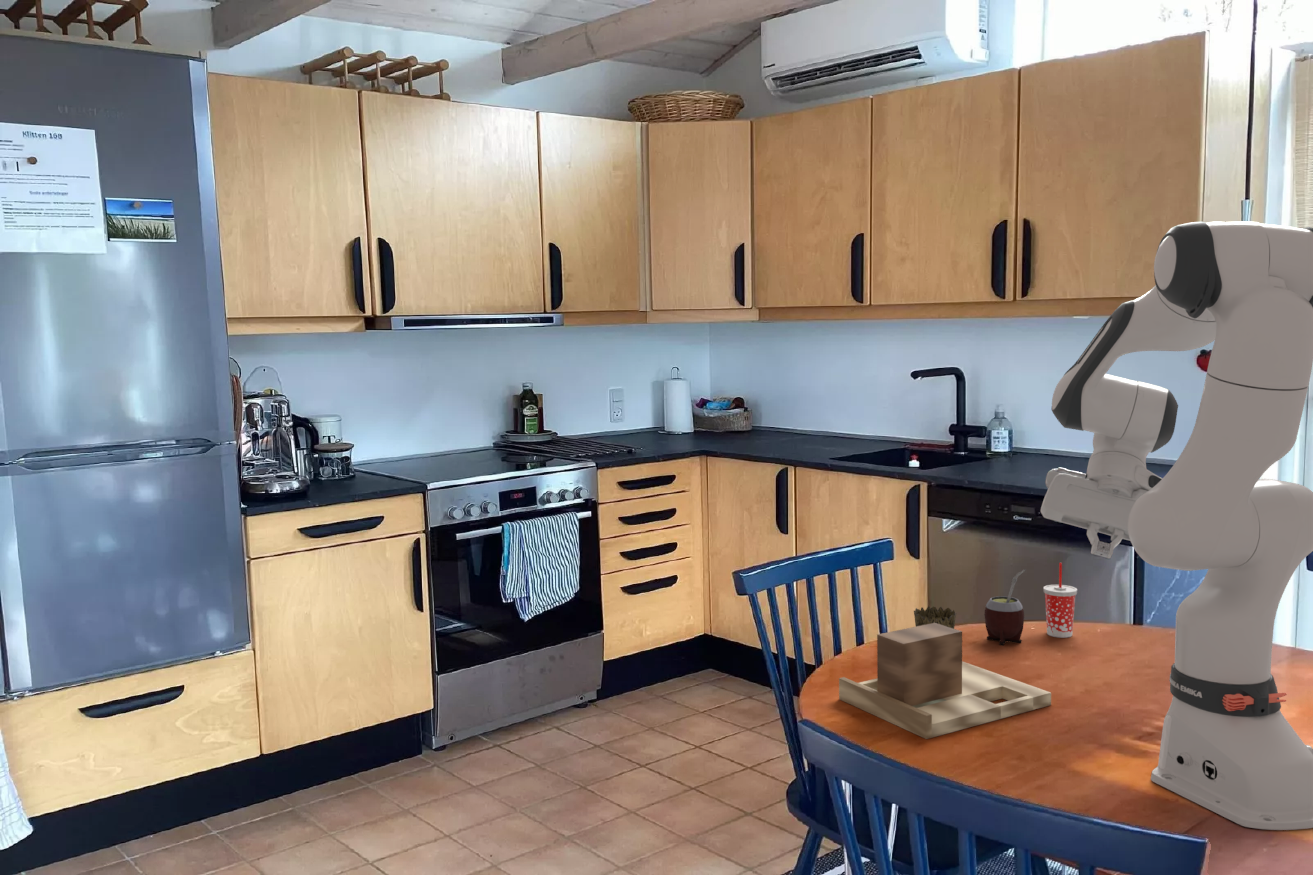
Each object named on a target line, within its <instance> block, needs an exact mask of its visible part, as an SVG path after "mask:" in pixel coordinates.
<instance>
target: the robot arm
mask: <svg viewBox="0 0 1313 875" xmlns="http://www.w3.org/2000/svg"><path fill="white" fill-rule="evenodd" d="M1153 276H1154V282H1155V285H1154V286H1153V287H1152V288H1151V289H1150V290H1149V291H1147V292H1146V293H1144V294H1143V295H1141V296H1139V297H1137V298H1135V299H1133V300H1132V299H1131V300H1129V301H1125V302H1122V303H1121V304H1120V305H1119V306H1117V308H1115V310H1114V311H1113V312H1112V314H1110V316H1109V317H1108V318H1107V319H1106V321H1105V322H1104V323H1103V324H1102V326H1101V327H1100V328H1099V330H1098V331H1097V333H1096V334H1095V336H1093V338H1092V340H1090V342H1089V344H1088V345H1087V346H1086V348H1085V349H1084V351H1083V352H1082V354H1081V355H1080V356H1079V358H1078V359H1077V360H1076V362H1074V364H1073V365H1072V366H1071V367H1070V368H1068V369H1067V371H1066V372H1065V373H1064V374H1063V376H1062V377H1061V378H1060V379H1059V381H1058V382H1057V384H1056V386H1055V388H1054V390H1053V393H1052V399H1051V409H1050V410H1051V411H1052V414H1053V415H1054V417H1055V418H1056V419H1057V421H1058V423H1059V424H1060V425H1061V426H1062V427H1063V428H1064V429H1070V430H1077V431H1082V432H1084V431H1086V432H1089V433H1093V439H1092V446H1093V451H1092V453H1091V455H1090V456H1089V459H1088V464H1087V469H1086V473H1083V472H1081V471H1080V472H1079V471H1076V470H1070V469H1067V468H1065V467H1058V468H1052V469H1051V470H1049V471H1048V472H1047V473H1046V476H1045V481H1044V483H1045V486H1046V488H1047V491H1046V493H1045V495H1044V498H1043V501H1042V503H1041V507H1040V513H1041V515H1042V517H1043V518H1044V519H1047V520H1051V521H1055V522H1058V523H1063V524H1066V525H1070V526H1074V527H1078V528H1082V529H1085V530H1086V536H1087V538H1088V541H1089V542H1090V545H1091V549H1090V550H1091V551H1090V554H1091V555H1096V556H1099V557H1103V558H1106V559H1109V560H1110V559H1111V558H1112V557H1113V553H1114V549H1115V548H1116V547H1118V545H1119V544H1120V543H1121V542H1122V540H1126V541H1130V543H1131V545H1132V547H1133V549H1134V550H1135V552H1136V554H1137V555H1138V556H1139V557H1140V558H1141V559H1142V560H1143V561H1144V562H1145V563H1147V564H1149V565H1151V566H1153V567H1157V568H1164V569H1171V570H1179V571H1189V572H1191V571H1193V572H1194V571H1199V570H1200V571H1201V570H1207V572H1206V574H1205V576H1204V578H1203V579H1202V582H1201V583H1200V584H1199V586H1198V587H1197V588H1196V589H1195V590H1194V591H1193V592H1191V594H1189V595H1188V596H1187V597H1186V598H1184V599H1183V600H1182V602H1180V604H1179V606H1178V608H1177V610H1176V614H1175V636H1174V639H1175V640H1174V641H1175V643H1174V646H1175V647H1174V662H1173V663H1172V665H1171V666H1170V674H1169V684H1170V685H1169V687H1170V688H1169V692H1170V694H1171V695H1172V699H1171V703H1170V706H1169V708H1168V711H1167V712H1166V714H1165V716H1164V719H1163V725H1162V731H1161V732H1162V733H1161V740H1160V747H1159V755H1158V762H1157V766H1156V767H1155V768H1154V769H1152V771H1151V775H1150V781H1152V782H1153V783H1155V784H1157V785H1158V786H1161V787H1163V788H1164V789H1167V790H1168V791H1171V792H1174V794H1176V795H1179V796H1180V797H1183V798H1185V799H1187V800H1189V801H1191V802H1193V803H1195V804H1197V805H1200V806H1201V807H1203V808H1205V809H1207V810H1210V811H1211V812H1214V813H1216V814H1218V815H1219V816H1221V817H1224V818H1225V819H1227V820H1230V821H1231V822H1234V823H1235V824H1237V825H1240V826H1242V827H1245V828H1252V829H1259V830H1270V831H1283V830H1284V831H1285V830H1286V831H1289V830H1291V831H1293V830H1304V829H1305V830H1306V829H1312V828H1313V747H1312V746H1310V744H1305V742H1304V741H1303V740H1302V738H1301V737H1300V736H1299V735H1298V734H1297V731H1295V730H1294V728H1293V726H1292V725H1291V723H1290V722H1288V720H1287V719H1286V718H1285V716H1284V715H1283V713H1282V711H1281V708H1282V705H1281V703H1284V702H1287V700H1286V699H1280V698H1282V697H1285V696H1287V693H1286V692H1278V686H1277V685H1276V681H1275V677H1274V675H1272V652H1273V639H1274V627H1275V619H1276V615H1277V612H1278V608H1279V606H1280V603H1281V602H1280V601H1281V600H1282V597H1283V595H1284V593H1285V591H1286V588H1287V585H1288V583H1289V582H1290V580H1291V578H1292V576H1293V574H1294V573H1295V571H1296V570H1297V569H1298V567H1299V566H1300V564H1301V563H1302V562H1303V561H1304V560H1305V559H1306V557H1307V556H1309V555H1310V554H1311V553H1312V552H1313V491H1312V489H1310V488H1308V487H1307V486H1305V485H1302V484H1299V483H1295V482H1290V481H1284V480H1279V479H1273V478H1272V479H1271V478H1262V476H1263V475H1264V473H1265V472H1266V471H1267V470H1268V469H1269V468H1271V467H1272V466H1273V465H1274V464H1275V463H1276V462H1278V461H1280V460H1281V459H1283V458H1284V457H1285V456H1287V454H1289V452H1290V451H1291V450H1292V448H1293V447H1294V446H1295V445H1296V444H1295V443H1296V442H1297V438H1298V434H1299V429H1300V425H1301V420H1302V417H1303V411H1304V407H1305V403H1306V398H1307V394H1308V391H1309V390H1308V389H1309V385H1310V379H1311V374H1312V370H1313V226H1312V227H1311V226H1306V227H1302V228H1300V227H1294V226H1287V225H1280V224H1279V225H1278V224H1270V223H1269V224H1268V223H1260V222H1258V221H1226V222H1225V221H1209V222H1205V221H1202V220H1201V221H1194V222H1193V221H1192V222H1186V223H1183V224H1182V223H1180V224H1177V225H1174V226H1172V227H1171V228H1170V229H1169V230H1168V231H1167V232H1166V233H1165V234H1164V235H1163V236H1162V238H1161V240H1160V242H1159V243H1158V247H1157V250H1156V253H1155V257H1154V262H1153ZM1212 343H1213V345H1212V349H1211V353H1210V357H1209V361H1208V365H1207V370H1206V375H1205V381H1204V386H1203V390H1202V394H1201V399H1200V404H1199V407H1198V411H1197V415H1196V420H1195V423H1194V426H1193V429H1192V432H1191V435H1190V437H1189V439H1188V441H1187V443H1186V444H1185V446H1184V448H1183V450H1182V451H1181V453H1180V455H1179V456H1178V457H1177V460H1176V461H1175V462H1174V464H1173V465H1172V467H1171V468H1170V469H1169V471H1168V472H1167V473H1166V474H1165V475H1164V476H1163V477H1160V476H1159V475H1158V474H1156V473H1153V472H1152V471H1150V470H1149V469H1147V463H1146V462H1147V461H1146V460H1147V456H1148V455H1149V453H1154V452H1156V451H1158V450H1159V449H1161V448H1162V447H1164V446H1166V445H1167V444H1169V442H1171V440H1172V437H1173V435H1174V433H1175V427H1176V423H1177V416H1178V410H1179V409H1178V408H1179V404H1178V402H1177V400H1176V398H1175V395H1174V394H1173V393H1172V391H1171V390H1169V389H1168V388H1165V387H1163V386H1159V385H1157V384H1152V383H1148V382H1144V381H1141V380H1135V379H1134V380H1133V379H1130V378H1129V379H1128V378H1125V377H1121V376H1117V375H1113V374H1108V371H1109V370H1110V369H1111V368H1112V366H1113V365H1114V363H1115V362H1116V361H1117V360H1118V359H1119V358H1120V357H1122V356H1125V355H1127V354H1131V353H1137V352H1138V353H1140V352H1157V351H1158V352H1187V351H1192V350H1197V349H1201V348H1203V347H1206V346H1208V345H1209V344H1212ZM1098 533H1100V534H1104V535H1107V536H1110V541H1111V542H1110V543H1108V542H1104V541H1100V539H1099V536H1098Z"/></svg>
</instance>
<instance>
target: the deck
mask: <svg viewBox="0 0 1313 875" xmlns="http://www.w3.org/2000/svg"><path fill="white" fill-rule="evenodd" d="M838 696H839V697H838V700H840V701H842V702H845V703H846V704H849V705H851V706H853V707H855V708H857V709H859V710H862V711H864V712H866V713H868V714H871V715H872V716H875V717H877V718H879V719H881V720H884V721H885V722H888V723H890V724H893V725H895V726H897V727H899V728H901V729H904V730H906V731H907V732H910V733H913V734H914V735H917V736H919V737H921V738H923V739H925V740H930V739H932V738H935V737H939V736H943V735H947V734H950V733H954V732H958V731H961V730H965V729H968V728H971V727H975V726H979V725H983V724H987V723H991V722H995V721H998V720H1002V719H1005V718H1009V717H1011V716H1012V717H1013V716H1016V715H1020V714H1023V713H1027V712H1030V711H1034V710H1036V709H1041V708H1045V707H1049V706H1052V692H1050V691H1048V690H1045V689H1042V688H1039V687H1036V686H1034V685H1031V684H1028V683H1025V682H1023V681H1020V680H1016V679H1013V678H1011V677H1008V676H1005V675H1002V674H999V673H996V672H994V671H991V670H987V669H986V668H983V667H980V666H977V665H974V664H971V663H968V662H966V661H963V660H962V694H958V695H954V696H950V697H946V698H942V699H938V700H934V701H930V702H926V703H922V704H918V705H914V706H911V705H908V704H906V703H904V702H901V701H899V700H897V699H894V698H892V697H889V696H887V695H885V694H882V693H880V692H878V691H877V678H872V679H869V680H864V681H859V682H856V681H854V680H852V679H849V678H847V677H845V676H843V677H839V678H838ZM1001 699H1003V700H1005V701H1003V702H1002V701H1001V702H998V703H994V702H995V701H997V700H1001Z"/></svg>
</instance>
